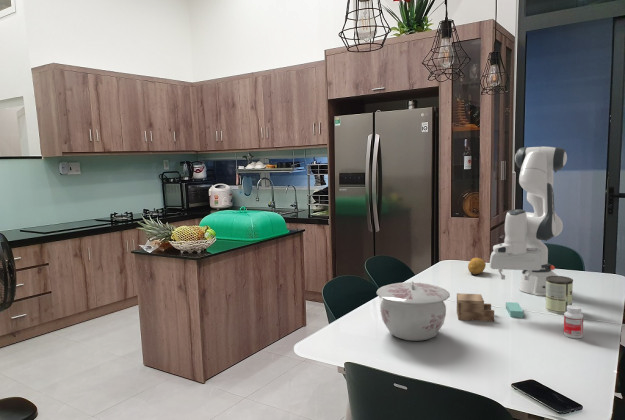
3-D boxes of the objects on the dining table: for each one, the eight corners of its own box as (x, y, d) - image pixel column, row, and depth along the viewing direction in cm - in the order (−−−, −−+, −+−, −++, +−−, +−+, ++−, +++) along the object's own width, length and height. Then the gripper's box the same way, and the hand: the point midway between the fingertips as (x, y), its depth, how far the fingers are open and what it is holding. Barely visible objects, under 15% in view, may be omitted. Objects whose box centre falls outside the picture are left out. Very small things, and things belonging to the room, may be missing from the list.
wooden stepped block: (490, 313, 195) (490, 294, 194) (494, 321, 185) (494, 301, 185) (456, 312, 198) (456, 293, 197) (458, 319, 189) (458, 300, 188)
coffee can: (544, 305, 204) (545, 274, 202) (570, 307, 199) (571, 276, 198) (545, 312, 194) (546, 280, 193) (573, 315, 190) (574, 282, 189)
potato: (463, 258, 261) (479, 259, 255) (472, 256, 271) (488, 256, 265) (464, 275, 261) (480, 276, 255) (473, 271, 271) (489, 272, 265)
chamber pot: (407, 355, 156) (407, 296, 154) (363, 330, 180) (362, 279, 178) (466, 338, 169) (467, 284, 167) (417, 317, 193) (417, 269, 191)
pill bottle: (570, 331, 173) (571, 303, 172) (586, 336, 167) (587, 307, 166) (559, 334, 170) (560, 306, 169) (575, 340, 164) (576, 310, 163)
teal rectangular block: (505, 308, 202) (505, 302, 202) (517, 309, 201) (518, 302, 200) (510, 317, 190) (510, 310, 190) (523, 318, 189) (523, 311, 189)
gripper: (540, 247, 193) (539, 278, 195) (489, 246, 198) (488, 276, 199) (544, 249, 187) (543, 282, 188) (491, 248, 192) (490, 280, 193)
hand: (514, 279), depth 194 cm, fingers open, 8 cm apart
